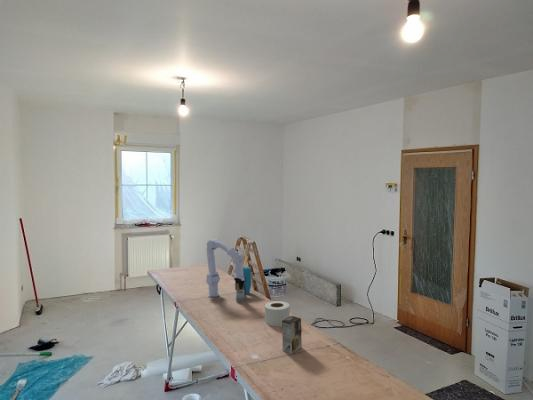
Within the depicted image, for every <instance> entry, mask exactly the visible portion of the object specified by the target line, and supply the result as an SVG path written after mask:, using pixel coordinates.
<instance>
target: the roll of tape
mask: <svg viewBox="0 0 533 400" xmlns="http://www.w3.org/2000/svg"><path fill="white" fill-rule="evenodd" d="M290 312H291V311H290V303H288V302H286V301H281V300H278V301H275V300H274V301H269V302H267V303H266V304H265V305H264V319H265V320H264V322H265V324H266V325H268V326H271V327H282V321H283V320H285V319H286V318H288V317H290V315H291V314H290Z"/></svg>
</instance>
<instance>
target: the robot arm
mask: <svg viewBox="0 0 533 400" xmlns="http://www.w3.org/2000/svg"><path fill="white" fill-rule="evenodd" d="M218 248H219V249H221V250H223V251H224V252H226V254H227V256H229V257H230V258H231V259H233V261H234V266H235V267H234V276H233V277H234V278H233V279H234V283H235V282H236V283H239V288H240V289H243V285H244V282H245V279H244V276H243V267H244V260H245V255H244V254H243V253H242V252H239V251H237V250H235V248H230V247H228V246H227V244H225V243H224V242H223V240H221V239H220V238H216V239H211V240H210V239H209V240H208V241H207V242H206V257H207V267H208V273H207V274H206V278H205V279H206V280H205V282H206V284H207V285H208V293H207V295H208V298H213V297H215V298H216V297H219V295H220V293H219V283H220V279H221V278H220V276H219V272H217V268H216V259H215V250H216V249H218Z"/></svg>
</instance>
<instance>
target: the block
mask: <svg viewBox="0 0 533 400" xmlns="http://www.w3.org/2000/svg"><path fill="white" fill-rule="evenodd" d="M251 270H252V267H250V266H245V267H244V266H243V276H244V279H245V282H244V292H245V295H248V294H250V292H251V291H250V290H251V289H252V288H251V286H252V271H251ZM235 283H236V282H235V281H234V284H235Z"/></svg>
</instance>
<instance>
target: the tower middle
mask: <svg viewBox="0 0 533 400" xmlns="http://www.w3.org/2000/svg"><path fill="white" fill-rule="evenodd" d="M235 291H236V290H235ZM245 295H246V294H245V292H244V291H236V294H235V299H236V298H243V297H245V298H246V296H245Z"/></svg>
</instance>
